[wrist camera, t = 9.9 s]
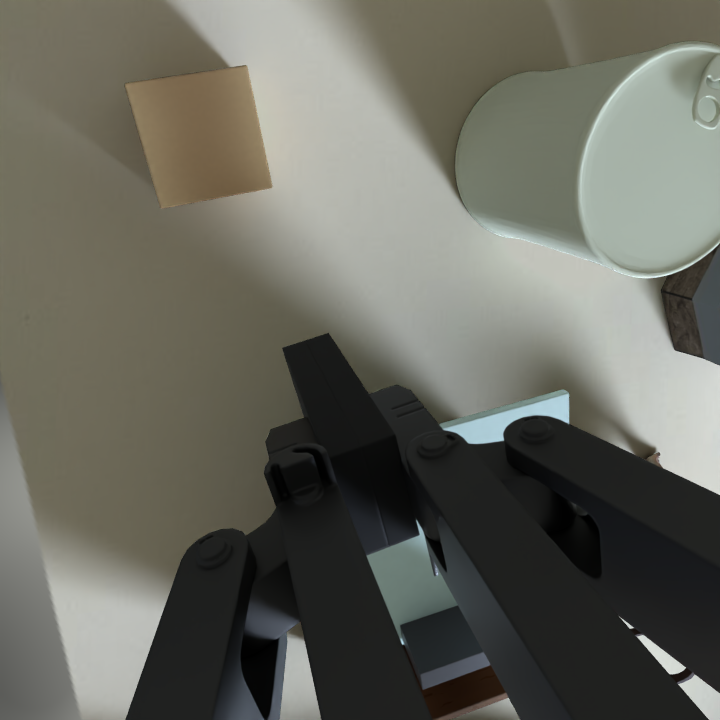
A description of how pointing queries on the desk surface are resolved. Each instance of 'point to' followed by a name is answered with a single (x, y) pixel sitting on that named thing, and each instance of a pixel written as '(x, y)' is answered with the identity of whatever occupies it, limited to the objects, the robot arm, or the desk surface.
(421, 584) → the light blue slab
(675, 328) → the mug
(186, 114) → the block
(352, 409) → the robot arm
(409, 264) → the desk surface
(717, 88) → the can
